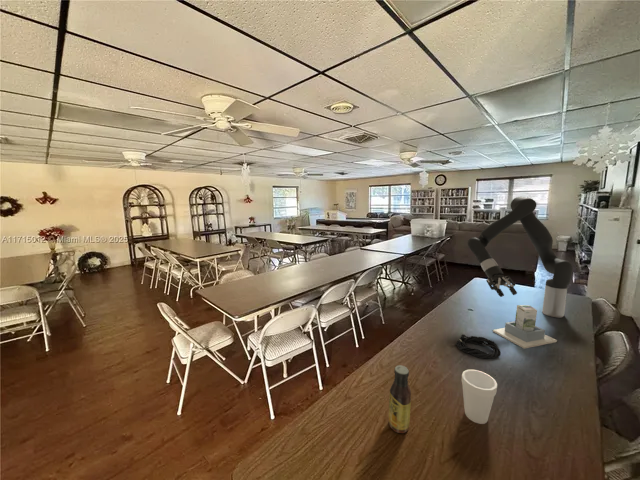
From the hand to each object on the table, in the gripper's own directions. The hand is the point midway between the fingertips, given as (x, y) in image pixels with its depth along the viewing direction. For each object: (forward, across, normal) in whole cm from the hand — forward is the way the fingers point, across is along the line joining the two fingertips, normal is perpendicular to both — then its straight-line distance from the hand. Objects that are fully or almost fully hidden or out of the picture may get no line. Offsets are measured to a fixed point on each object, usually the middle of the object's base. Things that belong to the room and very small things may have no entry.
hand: (508, 295), depth 134 cm
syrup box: (+19, 0, +6) cm, 20 cm away
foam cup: (+42, -61, -16) cm, 76 cm away
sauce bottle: (+40, -87, -14) cm, 97 cm away
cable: (+22, -31, +4) cm, 38 cm away
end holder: (+20, 0, +6) cm, 20 cm away
